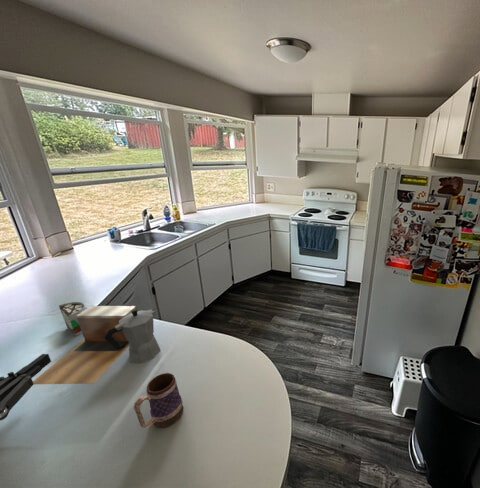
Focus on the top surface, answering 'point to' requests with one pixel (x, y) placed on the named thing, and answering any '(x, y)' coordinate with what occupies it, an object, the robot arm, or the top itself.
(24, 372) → the robot arm
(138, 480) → the top surface
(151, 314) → the coffeepot
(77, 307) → the food container
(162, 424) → the mug
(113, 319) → the brown rectangular block
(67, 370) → the wooden board
